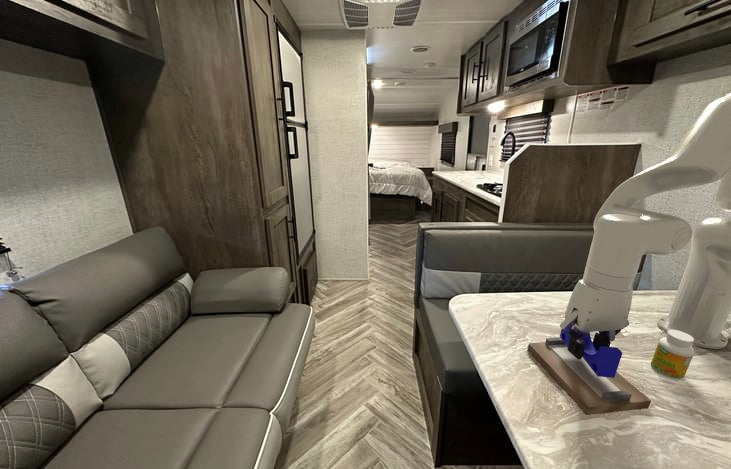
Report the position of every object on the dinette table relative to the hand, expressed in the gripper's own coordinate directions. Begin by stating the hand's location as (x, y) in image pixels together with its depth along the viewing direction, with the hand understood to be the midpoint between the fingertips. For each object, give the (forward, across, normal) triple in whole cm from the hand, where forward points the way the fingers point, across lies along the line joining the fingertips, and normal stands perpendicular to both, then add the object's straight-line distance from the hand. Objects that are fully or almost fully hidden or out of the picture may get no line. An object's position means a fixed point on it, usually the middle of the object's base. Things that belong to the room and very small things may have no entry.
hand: (586, 353), depth 62 cm
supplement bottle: (+6, -20, +1) cm, 21 cm away
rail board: (+6, 0, 0) cm, 6 cm away
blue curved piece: (+1, 0, 0) cm, 1 cm away
